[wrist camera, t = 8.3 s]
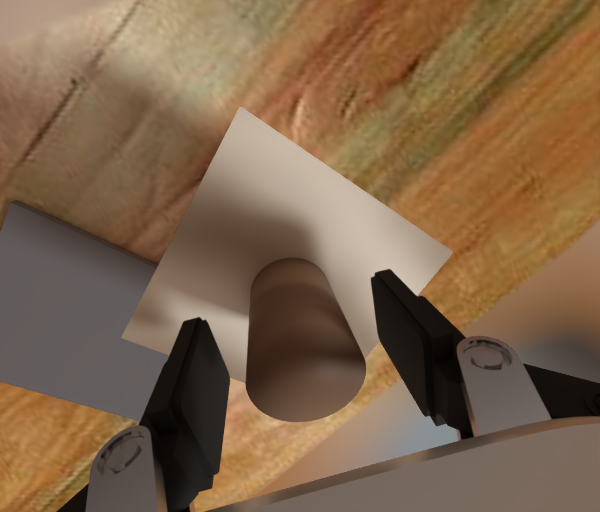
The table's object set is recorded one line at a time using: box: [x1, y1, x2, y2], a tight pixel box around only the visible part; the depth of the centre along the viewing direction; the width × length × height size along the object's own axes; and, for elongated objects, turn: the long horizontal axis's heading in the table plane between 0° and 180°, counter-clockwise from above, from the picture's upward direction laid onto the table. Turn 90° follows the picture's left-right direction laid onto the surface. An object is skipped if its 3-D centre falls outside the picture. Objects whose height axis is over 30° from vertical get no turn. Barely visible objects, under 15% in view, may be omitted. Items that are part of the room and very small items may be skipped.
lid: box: [121, 106, 453, 422], centre depth 11 cm, size 11×11×6 cm
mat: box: [0, 200, 169, 421], centre depth 21 cm, size 14×14×1 cm
